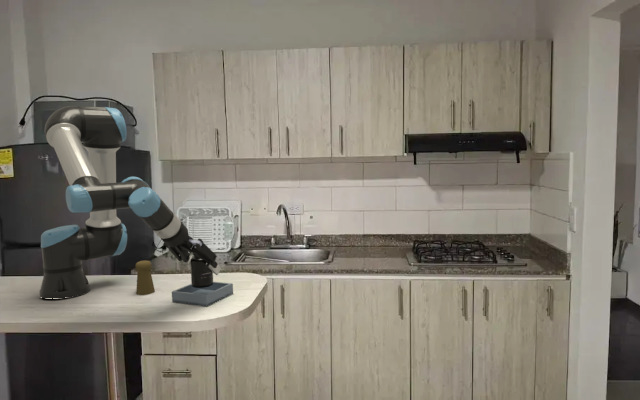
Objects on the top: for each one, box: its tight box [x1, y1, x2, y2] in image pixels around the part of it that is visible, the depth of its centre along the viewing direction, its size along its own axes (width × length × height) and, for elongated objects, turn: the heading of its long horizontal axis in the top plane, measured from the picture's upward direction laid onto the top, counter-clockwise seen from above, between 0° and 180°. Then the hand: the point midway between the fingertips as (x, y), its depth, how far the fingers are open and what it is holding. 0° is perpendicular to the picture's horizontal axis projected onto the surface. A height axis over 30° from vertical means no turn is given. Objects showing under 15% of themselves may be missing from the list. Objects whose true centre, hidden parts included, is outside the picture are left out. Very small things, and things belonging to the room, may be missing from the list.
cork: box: [135, 260, 156, 296], centre depth 154 cm, size 6×6×11 cm
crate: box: [171, 281, 234, 308], centre depth 145 cm, size 14×14×4 cm
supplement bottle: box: [190, 253, 214, 288], centre depth 144 cm, size 7×7×12 cm
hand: (209, 270), depth 147 cm, fingers closed on supplement bottle, 7 cm apart
